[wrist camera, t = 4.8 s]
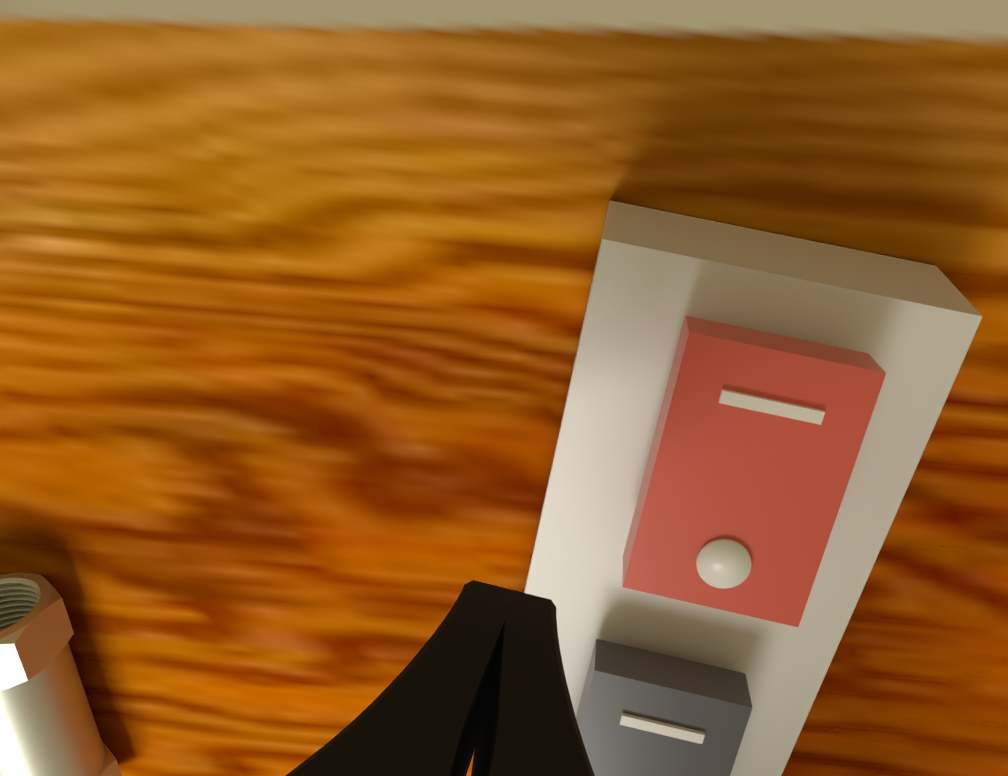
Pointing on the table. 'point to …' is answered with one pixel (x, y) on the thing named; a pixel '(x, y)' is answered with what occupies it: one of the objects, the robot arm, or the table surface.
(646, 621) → the rocker switch panel
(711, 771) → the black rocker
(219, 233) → the table surface
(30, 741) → the pipe fitting
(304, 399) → the table surface
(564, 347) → the table surface
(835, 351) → the red rocker
